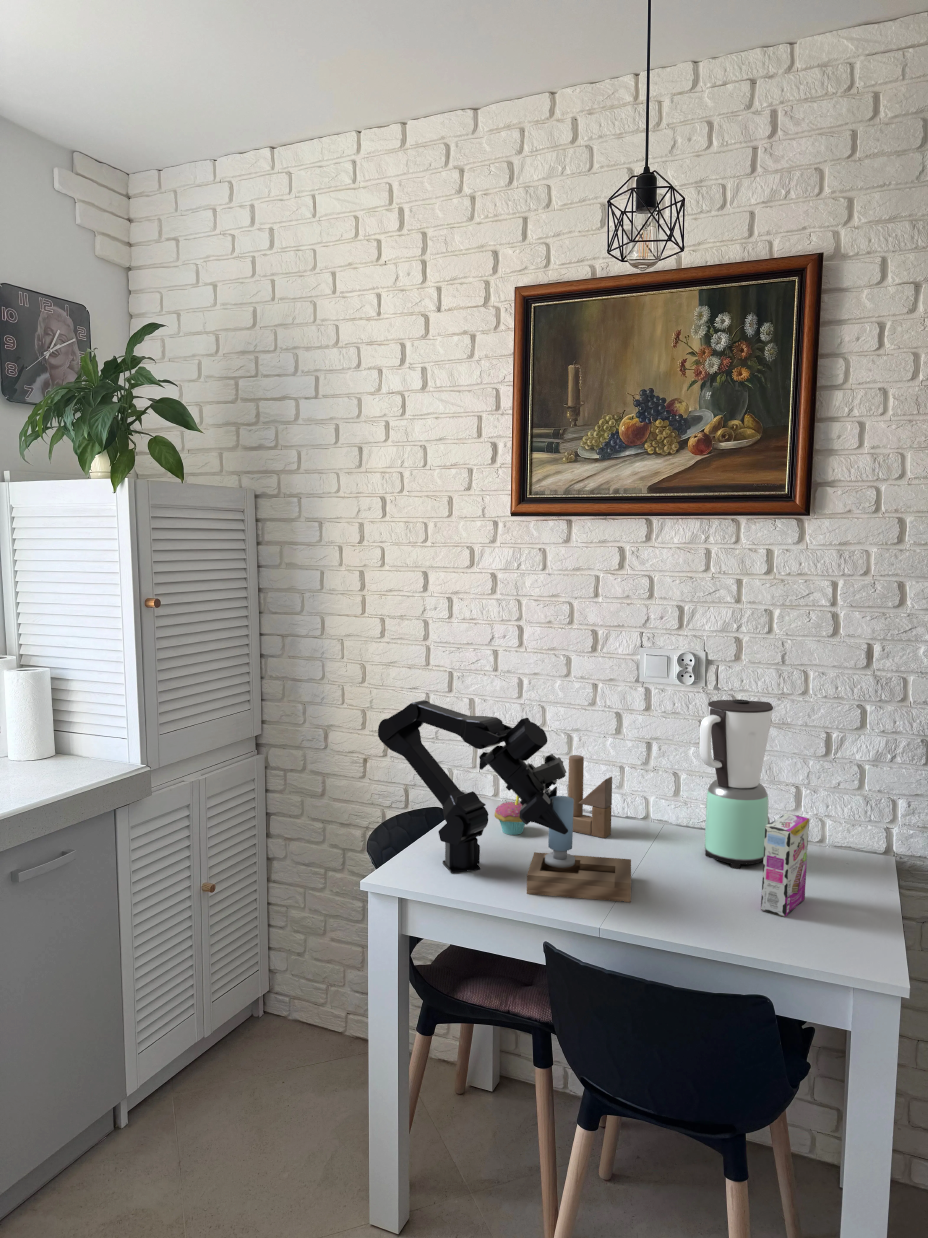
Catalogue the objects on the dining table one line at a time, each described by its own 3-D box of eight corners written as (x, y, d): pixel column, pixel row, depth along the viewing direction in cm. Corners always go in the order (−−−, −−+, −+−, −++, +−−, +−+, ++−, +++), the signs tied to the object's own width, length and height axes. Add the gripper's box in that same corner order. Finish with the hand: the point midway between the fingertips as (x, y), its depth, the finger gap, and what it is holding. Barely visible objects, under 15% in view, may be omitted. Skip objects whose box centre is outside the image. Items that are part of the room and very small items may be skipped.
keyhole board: (526, 893, 171) (526, 875, 170) (534, 870, 183) (534, 852, 183) (630, 902, 167) (631, 883, 167) (630, 877, 180) (631, 859, 179)
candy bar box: (786, 918, 160) (790, 831, 159) (760, 911, 163) (763, 825, 162) (807, 900, 169) (810, 817, 167) (781, 893, 172) (784, 812, 171)
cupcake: (536, 830, 209) (537, 781, 208) (519, 840, 202) (520, 789, 201) (505, 824, 214) (505, 776, 213) (487, 833, 207) (488, 783, 206)
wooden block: (604, 839, 203) (606, 763, 202) (564, 830, 209) (565, 756, 208) (611, 835, 206) (613, 760, 205) (571, 826, 212) (572, 753, 211)
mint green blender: (739, 843, 201) (744, 693, 198) (786, 862, 189) (792, 702, 186) (677, 857, 192) (681, 699, 189) (723, 877, 180) (728, 710, 177)
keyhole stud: (552, 869, 172) (554, 804, 171) (540, 858, 177) (541, 796, 176) (579, 866, 174) (581, 802, 173) (566, 855, 179) (568, 794, 178)
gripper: (537, 756, 165) (595, 817, 164) (547, 735, 183) (598, 790, 182) (496, 794, 167) (552, 854, 166) (509, 769, 186) (560, 824, 184)
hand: (567, 828), depth 175 cm, fingers closed on keyhole stud, 5 cm apart
